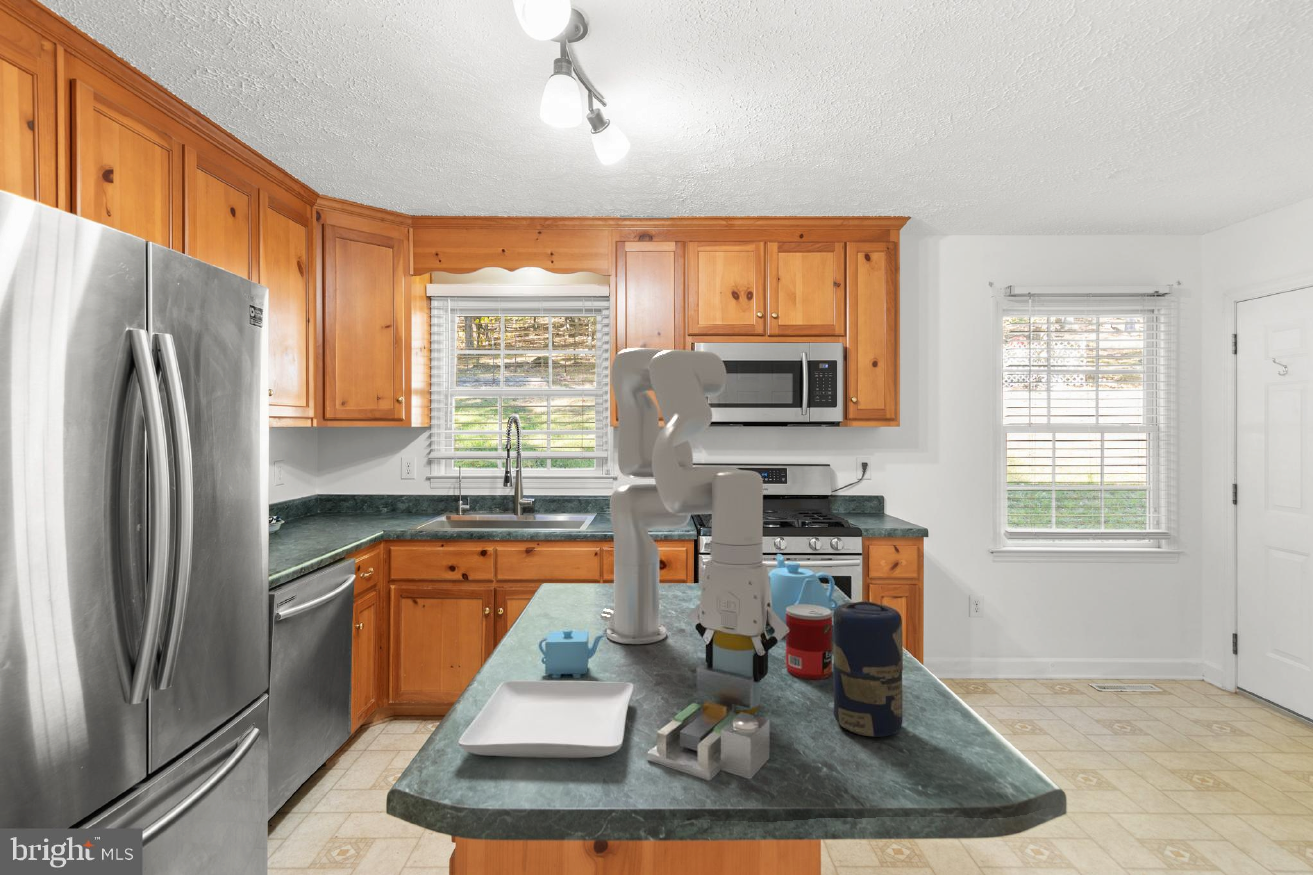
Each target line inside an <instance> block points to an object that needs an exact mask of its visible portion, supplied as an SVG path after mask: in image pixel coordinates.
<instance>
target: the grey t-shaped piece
mask: <svg viewBox="0 0 1313 875" xmlns="http://www.w3.org/2000/svg"><path fill="white" fill-rule="evenodd" d="M696 696H701V697H706V698H708V699H711V700H712V699H713V700H712V702H710V701H706V702H704V703H703V704H702V713H701V714H700V715H699V716H697V717H696V719H695V720H694V721H692V722H691V723H690V724H689V725H687V726H686V727H685V728H684V729H682V730H681V731H680V746H683V747H687V748H690V749H693V750H696V751H698V744H699V743H700V742H701V741H702V740H704V739H705V738H706V737H707V736H708V735H709V734H710V733H712V732H713V728H715V727H716V726H717V725H718V724H719V723H720V722H721V721H723V720H724V719H725V718H726V717H727V716H728V715H730V714H731V713H733V714H736V705H739V706H743V707H747V708H751V707H752V706H753V705H754V677H750V676H746V675H742V674H737V673H733V672H728V671H724V670H719V669H715V668H710V667H707V665H706V666H705V665H702V664H701V665H699V666H697V667H696Z"/></svg>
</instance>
